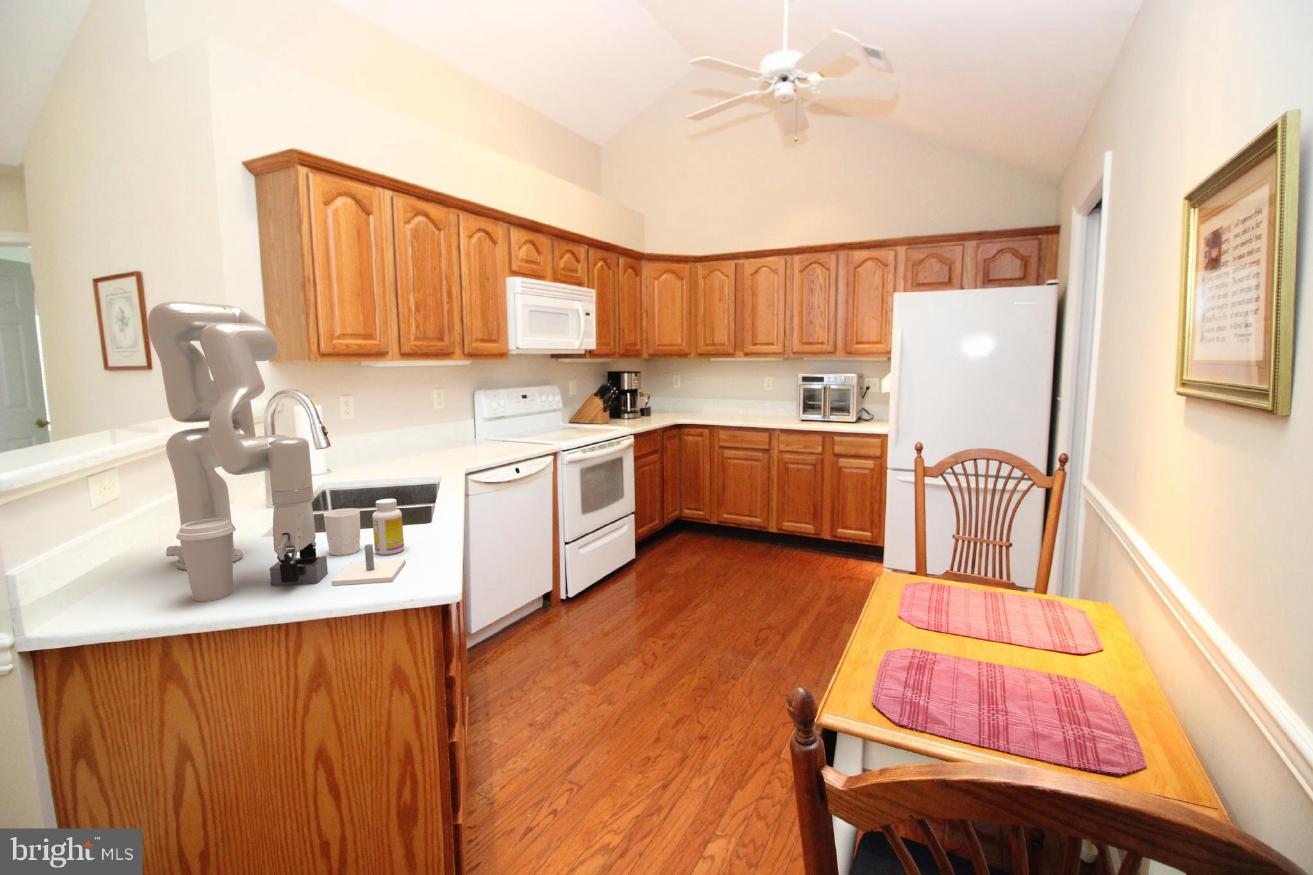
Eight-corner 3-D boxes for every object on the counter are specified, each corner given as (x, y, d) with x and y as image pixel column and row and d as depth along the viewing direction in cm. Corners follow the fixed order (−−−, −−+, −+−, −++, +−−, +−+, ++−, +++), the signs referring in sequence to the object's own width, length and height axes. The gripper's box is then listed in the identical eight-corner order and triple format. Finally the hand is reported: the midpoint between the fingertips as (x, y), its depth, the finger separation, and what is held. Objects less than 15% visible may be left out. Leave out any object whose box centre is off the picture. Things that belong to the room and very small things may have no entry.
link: (271, 586, 126) (269, 568, 126) (283, 576, 132) (282, 558, 132) (317, 583, 128) (316, 565, 127) (327, 573, 134) (326, 556, 133)
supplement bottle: (409, 547, 152) (406, 497, 150) (395, 556, 146) (392, 504, 144) (384, 546, 153) (380, 497, 151) (369, 555, 146) (365, 503, 144)
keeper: (331, 585, 127) (329, 555, 126) (350, 566, 138) (348, 538, 137) (392, 581, 129) (390, 552, 128) (405, 563, 140) (403, 536, 139)
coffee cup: (242, 583, 129) (235, 514, 127) (241, 597, 121) (233, 524, 119) (186, 592, 123) (178, 521, 121) (180, 608, 115) (171, 532, 113)
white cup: (369, 548, 152) (367, 509, 150) (344, 558, 144) (341, 517, 143) (345, 545, 154) (342, 507, 153) (319, 554, 147) (315, 514, 146)
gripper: (291, 488, 136) (297, 561, 138) (253, 506, 119) (262, 589, 121) (327, 486, 137) (333, 559, 139) (295, 504, 120) (302, 587, 122)
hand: (300, 573), depth 130 cm, fingers open, 9 cm apart
